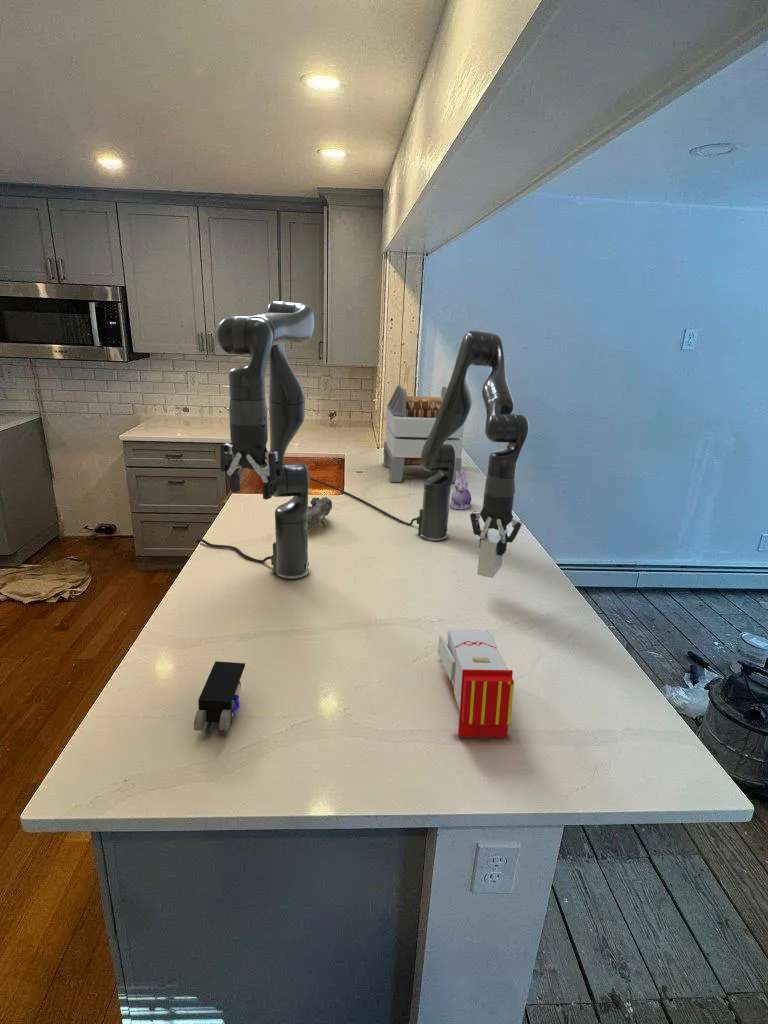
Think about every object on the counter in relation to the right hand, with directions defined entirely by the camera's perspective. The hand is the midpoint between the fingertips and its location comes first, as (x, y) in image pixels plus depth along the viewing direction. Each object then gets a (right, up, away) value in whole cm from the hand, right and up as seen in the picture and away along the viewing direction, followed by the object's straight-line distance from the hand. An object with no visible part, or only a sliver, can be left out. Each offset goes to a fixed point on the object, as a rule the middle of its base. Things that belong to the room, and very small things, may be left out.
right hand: (492, 552), depth 151 cm
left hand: (-57, +14, -29) cm, 66 cm away
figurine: (+2, +13, +79) cm, 81 cm away
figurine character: (-60, -28, -43) cm, 79 cm away
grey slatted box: (-12, +30, +124) cm, 128 cm away
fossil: (-54, +6, +53) cm, 76 cm away
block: (0, -5, +2) cm, 5 cm away
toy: (-11, -27, -33) cm, 44 cm away
